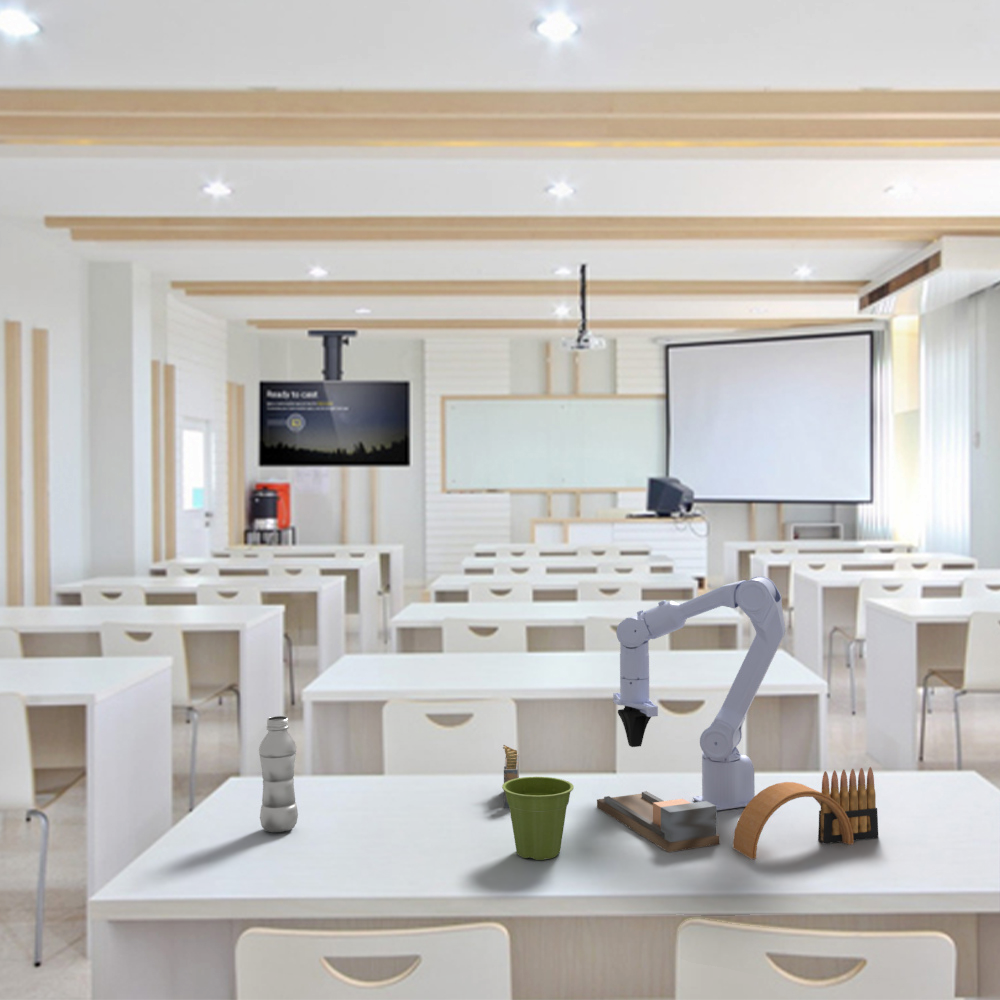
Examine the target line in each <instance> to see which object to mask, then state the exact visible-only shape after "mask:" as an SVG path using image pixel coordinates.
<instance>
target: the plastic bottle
mask: <svg viewBox="0 0 1000 1000" xmlns="http://www.w3.org/2000/svg"><path fill="white" fill-rule="evenodd" d="M288 729H290V725H289V717H288V716H286V715H277V716H270V717H267V720H266V731H267V733H266V735H265V736H264V737H263V739H262V741H261V742H260V745H259V748H258V753H259V760H260V766H261V773H262V797H261V799H262V800H261V805H260V807H261V808H260V814H259V820H260V825H261V827H262V828H263V830H264V831H265V832H269V833H282V832H283V833H284V832H287V831H291V830H292V829H294V828H295V827H296V825H297V822H298V818H299V813H298V806H297V802H296V795H295V793H296V792H295V786H294V785H295V784H294V783H295V782H294V781H295V779H294V777H295V763H296V755H297V744H296V742H295V739H294V738H293V736H292V735H291V734H290V733H289V731H288Z"/></svg>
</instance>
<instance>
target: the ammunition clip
mask: <svg viewBox="0 0 1000 1000" xmlns="http://www.w3.org/2000/svg"><path fill="white" fill-rule="evenodd" d="M822 775H823V776H822V779H821V780H822V781H821V793H823V794H825V795H827V796H829V797H831V798H832V799H833V800H835V801H836V802H837V803H838V804H839V805H840V806H841V807H842V808H843V810H844V811H845V813H846V815H847V816H848V819H849V821H850V824H851V827H852V831H853V839H854V841H861V840H862V841H863V840H870V839H871V840H872V839H878V838H879V818H878V808H877V807H876V802H877V800H876V789H875V777H874V775H875V774H874V771H873V768H872V767H871V766H870V767H868V771H867V775H866V776H865V772H864V768H863V767H861V768H860V769H859V772H858V776H857V777H856V772H855V769H854V768H851V770H850V773H849V778H848V776H847V773H846V770H845V769H842V771H841V775H840V780H839V778H838V773H837V771H836V770H833V772H832V775H831V780H829V779H830V778H829V775H828V773H827V771H824V772H823V774H822ZM848 779H849V781H848ZM839 781H840V782H839ZM830 782H831V783H830ZM817 831H818V832H817V833H818V835H817V840H818V842H821V843H822V844H823V845H824V844H835V843H843V842H842V835H840V826H839V822H838V820H837V817H836V815H835V814H834V813H832V812H831V809H830V808H829V806H828V805H827V804H825V803H824V802H822V801H821V806H820V810H818V830H817Z"/></svg>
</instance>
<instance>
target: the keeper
mask: <svg viewBox="0 0 1000 1000" xmlns="http://www.w3.org/2000/svg"><path fill="white" fill-rule="evenodd" d="M688 803H691V802H690V801H688V800H686V799H684V798H677V799H671V800H663V801H662V802H654V803H653V823H655V824H657V825H658V826H660V827H661V807H666V806H673V805H681V804H688Z"/></svg>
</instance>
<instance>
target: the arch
mask: <svg viewBox="0 0 1000 1000" xmlns="http://www.w3.org/2000/svg"><path fill="white" fill-rule="evenodd" d="M821 792H822V791H821ZM821 792H820V791H818V790H816V789H814V788H811V787H809V786H807V785H806V784H805V785H804V784H802V783H798V782H793V781H791V782H790V781H785V782H778V783H775V784H772V785H770V786H768V787H766V788H763V789H762V790H760V791H759V792H758V793H757V794H756V795H755V797H753V799H752V800H751V801H750V802H749V803H748V804H747V806H745V807H744V809H743V810H742V812H741V814H740V816H739V818H738V820H737V823H736V825H735V830H734V833H733V834H734V835H733V841H732V848H733V849H734V850H735V851H738V852H739V853H741V854H743V855H744V856H745V857H747V858H749V859H750V860H753V859H757V850H758V843H759V840H760V837H761V833H762V831H763V829H764V827H765V825H766V824H767V822H768V820H769V819H770V818H771V816H772V815H773V814H774V813H775V812H776V811H777V810H778V809H780V808H781V807H782V806H783V805H785V804H787V803H788V802H790V801H792V800H796V799H799V798H813V799H814V800H815V801H816V802H817V803H818V804H819V806H820V807H821V801H822V802H824V803H825V804H827V805H828V806H829V808H830V809H831V812H832V813H834V814H835V815H836V817H837V820H838V822H839V826H840V835H842V842H841V843H844V844H847V845H848V846H849V845H854V844H855V840H854V839H853V831H852V827H851V824H850V821H849V819H848V816H847V815H846V813H845V811H844V810H843V808H842V807H841V806H840V805H839V804H838V803H837V802H836V801H835V800H833V799H832V798H831V797H829V796H827V795H825V794H823V793H821Z"/></svg>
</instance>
